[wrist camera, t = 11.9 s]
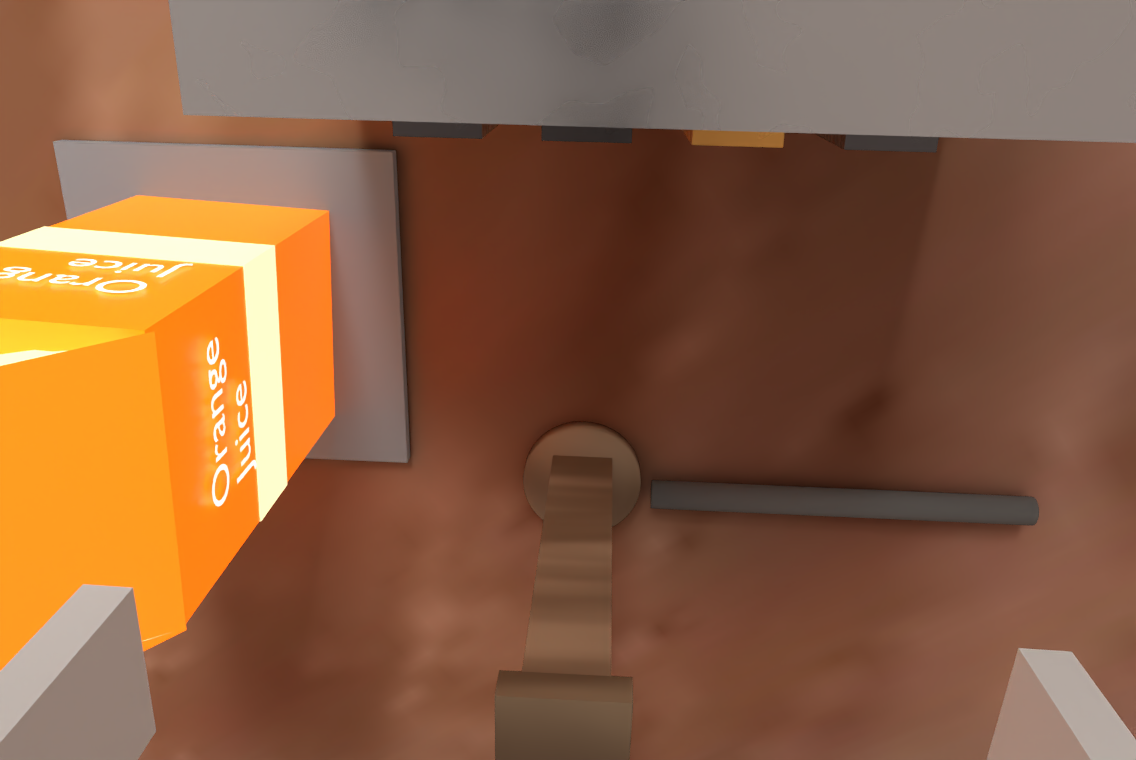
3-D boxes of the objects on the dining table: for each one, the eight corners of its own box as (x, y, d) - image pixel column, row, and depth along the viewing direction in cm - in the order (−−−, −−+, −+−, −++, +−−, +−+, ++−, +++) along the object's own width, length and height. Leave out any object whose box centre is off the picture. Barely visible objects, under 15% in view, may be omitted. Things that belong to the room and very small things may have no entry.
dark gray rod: (652, 475, 39) (653, 488, 37) (1028, 491, 38) (1041, 505, 37) (650, 499, 39) (651, 513, 38) (1022, 516, 38) (1034, 530, 37)
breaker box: (341, -103, 31) (142, -196, 18) (986, -90, 30) (1269, -178, 17) (354, 102, 33) (188, 150, 20) (950, 119, 33) (1172, 181, 20)
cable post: (525, 419, 38) (467, 673, 23) (643, 424, 38) (661, 683, 23) (524, 521, 40) (470, 817, 25) (637, 526, 40) (650, 828, 25)
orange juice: (156, 402, 38) (-287, 766, 19) (133, 192, 35) (-427, 387, 16) (339, 417, 38) (72, 800, 19) (334, 208, 34) (4, 424, 16)
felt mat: (62, 139, 34) (53, 141, 34) (395, 149, 34) (392, 152, 33) (116, 443, 39) (110, 449, 39) (410, 456, 39) (407, 462, 38)
